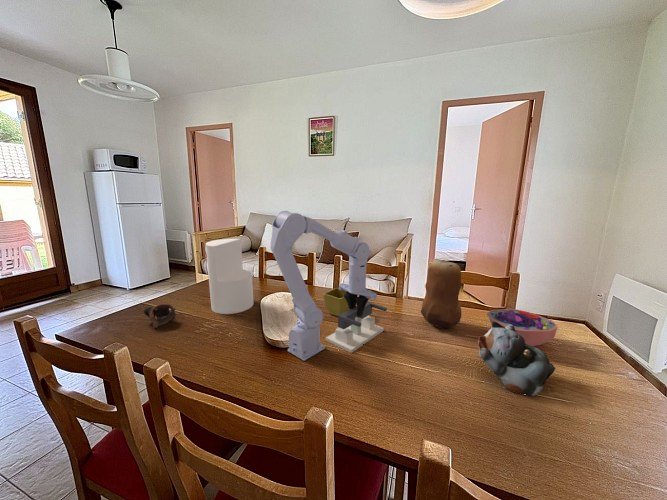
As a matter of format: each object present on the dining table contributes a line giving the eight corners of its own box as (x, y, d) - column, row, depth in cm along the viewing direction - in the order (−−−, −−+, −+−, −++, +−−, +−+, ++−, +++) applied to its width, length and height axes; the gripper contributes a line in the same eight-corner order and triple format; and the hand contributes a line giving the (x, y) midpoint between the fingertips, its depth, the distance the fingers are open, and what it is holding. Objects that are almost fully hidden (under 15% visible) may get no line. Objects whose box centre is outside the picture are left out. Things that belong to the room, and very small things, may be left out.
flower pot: (340, 320, 108) (340, 298, 106) (322, 314, 114) (322, 293, 112) (352, 312, 115) (353, 292, 113) (335, 307, 120) (336, 287, 118)
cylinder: (202, 310, 116) (195, 244, 110) (228, 295, 132) (224, 237, 126) (237, 316, 111) (233, 247, 105) (261, 300, 127) (257, 240, 121)
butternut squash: (452, 318, 111) (459, 257, 105) (464, 335, 98) (473, 267, 92) (417, 316, 112) (421, 256, 107) (424, 333, 99) (430, 265, 94)
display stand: (351, 352, 87) (351, 334, 86) (325, 340, 94) (325, 323, 93) (383, 330, 101) (384, 314, 99) (359, 321, 108) (359, 306, 107)
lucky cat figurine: (528, 406, 66) (499, 345, 67) (482, 390, 78) (458, 339, 79) (566, 368, 72) (539, 313, 73) (518, 359, 85) (495, 312, 85)
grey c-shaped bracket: (358, 336, 85) (359, 324, 85) (337, 326, 91) (338, 315, 90) (386, 318, 97) (386, 307, 96) (366, 311, 103) (366, 301, 102)
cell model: (566, 359, 84) (573, 325, 82) (494, 351, 88) (499, 319, 86) (538, 332, 100) (543, 303, 98) (478, 326, 104) (482, 298, 102)
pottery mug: (182, 316, 112) (180, 303, 107) (169, 336, 104) (167, 324, 99) (151, 309, 110) (148, 296, 105) (136, 329, 103) (132, 316, 98)
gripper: (382, 278, 91) (380, 316, 94) (347, 269, 100) (347, 304, 103) (370, 283, 86) (368, 324, 89) (335, 273, 95) (334, 310, 98)
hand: (356, 314), depth 96 cm, fingers closed on grey c-shaped bracket, 2 cm apart
